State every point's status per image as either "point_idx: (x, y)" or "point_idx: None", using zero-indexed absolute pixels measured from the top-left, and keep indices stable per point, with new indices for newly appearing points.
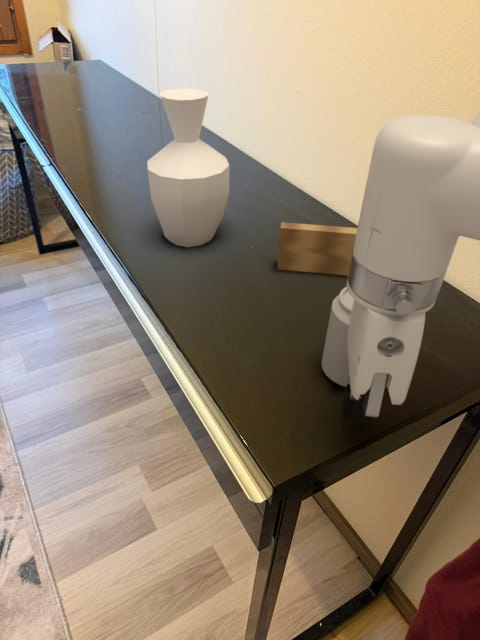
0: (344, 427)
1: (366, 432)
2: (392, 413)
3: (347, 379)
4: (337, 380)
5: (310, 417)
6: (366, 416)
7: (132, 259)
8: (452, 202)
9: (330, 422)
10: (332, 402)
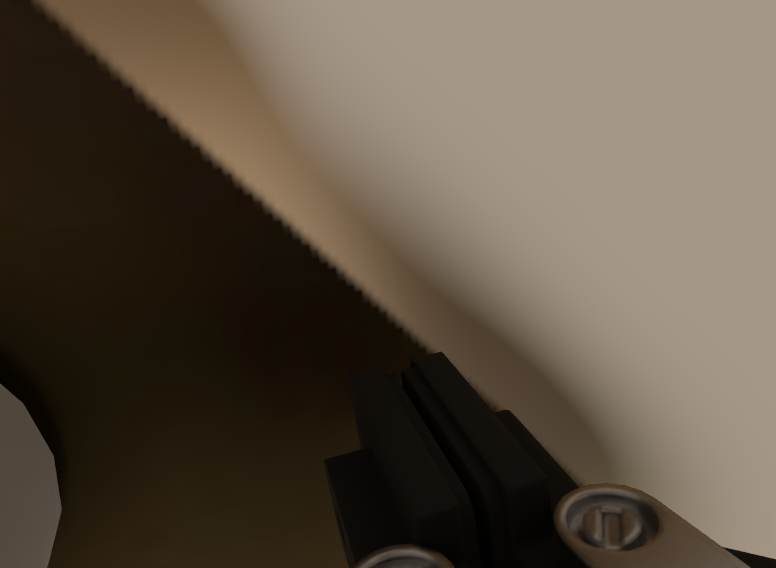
0: (340, 402)
1: (335, 294)
2: (129, 166)
3: (42, 530)
4: (48, 557)
5: (332, 556)
6: (522, 432)
7: None
8: None
9: None
10: (188, 496)
